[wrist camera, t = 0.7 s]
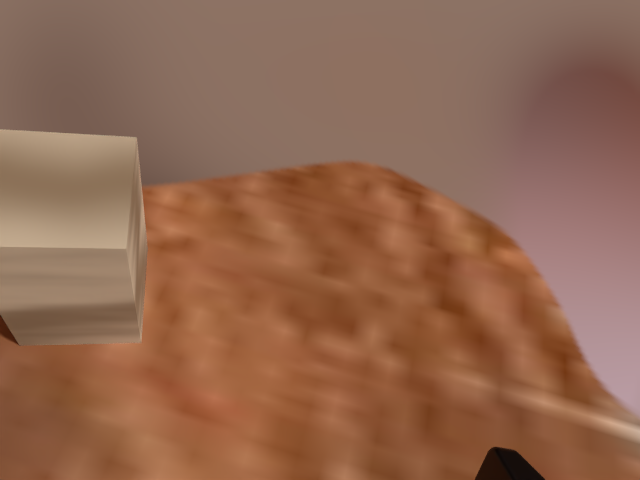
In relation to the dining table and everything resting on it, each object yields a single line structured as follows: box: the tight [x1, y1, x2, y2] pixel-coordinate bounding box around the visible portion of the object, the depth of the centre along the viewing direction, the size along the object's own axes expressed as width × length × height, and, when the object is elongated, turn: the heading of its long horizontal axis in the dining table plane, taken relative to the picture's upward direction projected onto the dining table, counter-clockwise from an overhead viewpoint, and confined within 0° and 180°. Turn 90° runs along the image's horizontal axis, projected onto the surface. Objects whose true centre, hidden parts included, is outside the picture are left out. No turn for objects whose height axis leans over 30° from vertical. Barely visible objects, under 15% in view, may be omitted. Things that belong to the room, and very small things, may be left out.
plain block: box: [0, 129, 148, 345], centre depth 22 cm, size 5×5×8 cm
